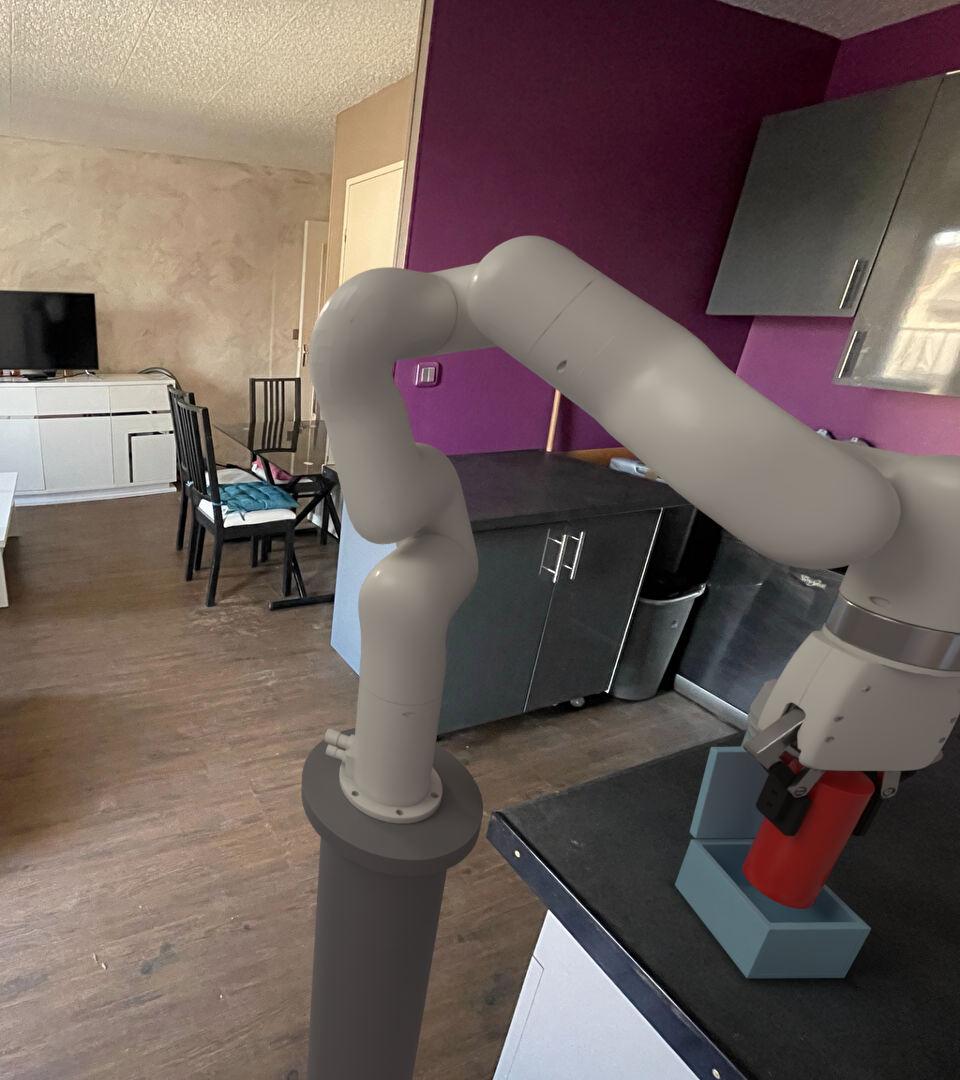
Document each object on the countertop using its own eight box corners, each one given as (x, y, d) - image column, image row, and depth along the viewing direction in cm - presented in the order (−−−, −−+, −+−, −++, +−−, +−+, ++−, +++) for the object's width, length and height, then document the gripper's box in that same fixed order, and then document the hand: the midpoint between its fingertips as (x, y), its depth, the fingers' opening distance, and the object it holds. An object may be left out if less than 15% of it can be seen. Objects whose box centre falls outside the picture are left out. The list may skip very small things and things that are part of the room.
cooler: (844, 978, 49) (871, 928, 47) (746, 978, 49) (769, 929, 47) (758, 884, 58) (778, 838, 56) (674, 885, 58) (690, 839, 56)
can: (746, 891, 50) (799, 778, 45) (738, 850, 54) (786, 742, 49) (821, 920, 48) (884, 804, 43) (806, 875, 51) (863, 764, 47)
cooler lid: (810, 751, 52) (801, 745, 53) (717, 751, 52) (710, 746, 53) (783, 838, 55) (775, 831, 56) (695, 838, 55) (688, 832, 56)
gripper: (958, 606, 45) (863, 788, 52) (740, 605, 45) (673, 787, 51) (1090, 661, 38) (961, 862, 45) (833, 659, 38) (742, 861, 44)
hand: (808, 820), depth 48 cm, fingers closed on can, 4 cm apart
